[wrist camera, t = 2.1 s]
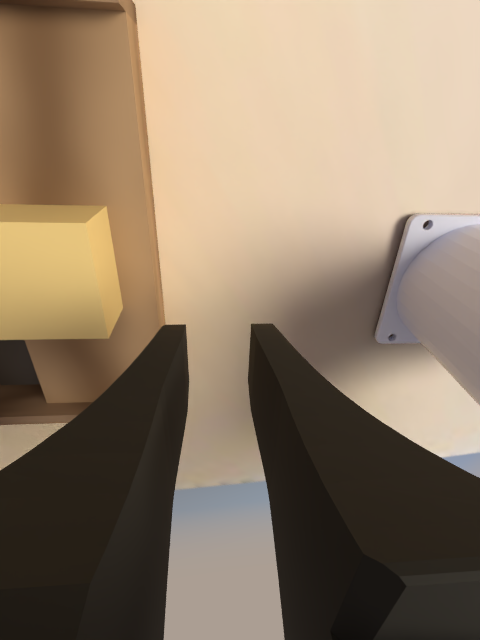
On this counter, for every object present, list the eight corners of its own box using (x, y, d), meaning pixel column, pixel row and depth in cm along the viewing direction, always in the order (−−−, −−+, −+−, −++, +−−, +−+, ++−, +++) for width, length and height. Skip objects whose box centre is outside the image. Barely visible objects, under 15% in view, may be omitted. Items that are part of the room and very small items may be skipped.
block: (106, 205, 15) (85, 223, 12) (123, 307, 17) (108, 338, 15) (-16, 203, 14) (-63, 221, 12) (19, 308, 17) (-13, 340, 14)
